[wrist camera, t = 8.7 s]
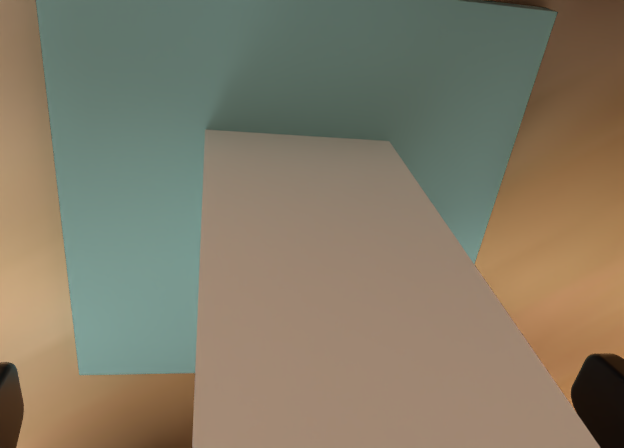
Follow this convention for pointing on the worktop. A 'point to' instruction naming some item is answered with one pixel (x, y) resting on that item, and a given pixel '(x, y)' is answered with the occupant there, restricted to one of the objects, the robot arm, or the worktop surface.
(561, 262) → the worktop surface
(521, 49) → the teal mat
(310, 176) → the beige grey rectangular block
